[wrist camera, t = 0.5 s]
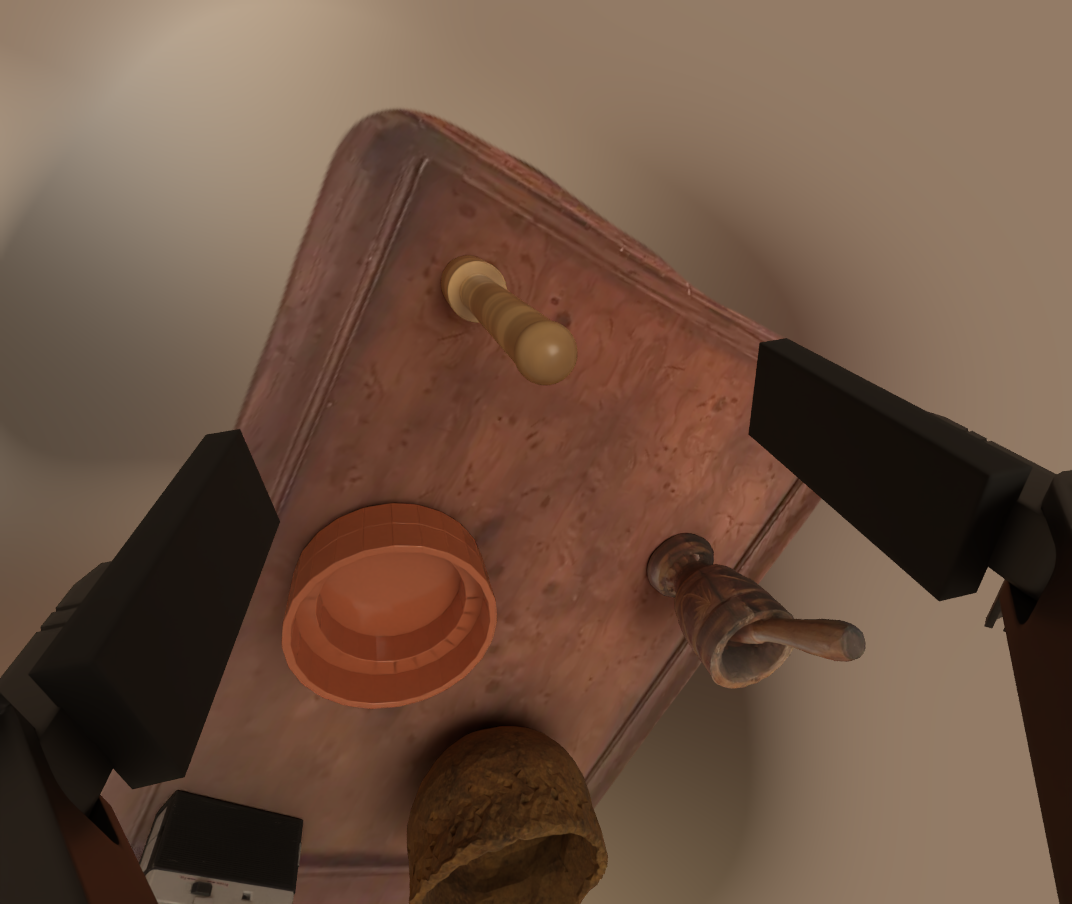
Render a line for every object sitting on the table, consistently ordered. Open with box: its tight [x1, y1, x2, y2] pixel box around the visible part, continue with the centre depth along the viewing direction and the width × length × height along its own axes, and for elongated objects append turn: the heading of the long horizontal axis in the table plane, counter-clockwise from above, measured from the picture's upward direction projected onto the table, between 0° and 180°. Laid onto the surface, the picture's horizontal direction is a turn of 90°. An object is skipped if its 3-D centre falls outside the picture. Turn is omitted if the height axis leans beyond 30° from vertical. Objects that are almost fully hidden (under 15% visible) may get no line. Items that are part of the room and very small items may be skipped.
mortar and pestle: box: [647, 534, 865, 688], centre depth 47 cm, size 12×9×20 cm
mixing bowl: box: [282, 503, 497, 709], centre depth 45 cm, size 16×16×7 cm
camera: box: [139, 791, 303, 904], centre depth 51 cm, size 14×9×10 cm, turn 39°
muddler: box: [441, 255, 577, 385], centre depth 30 cm, size 4×4×21 cm
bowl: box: [407, 726, 608, 904], centre depth 54 cm, size 19×19×15 cm
